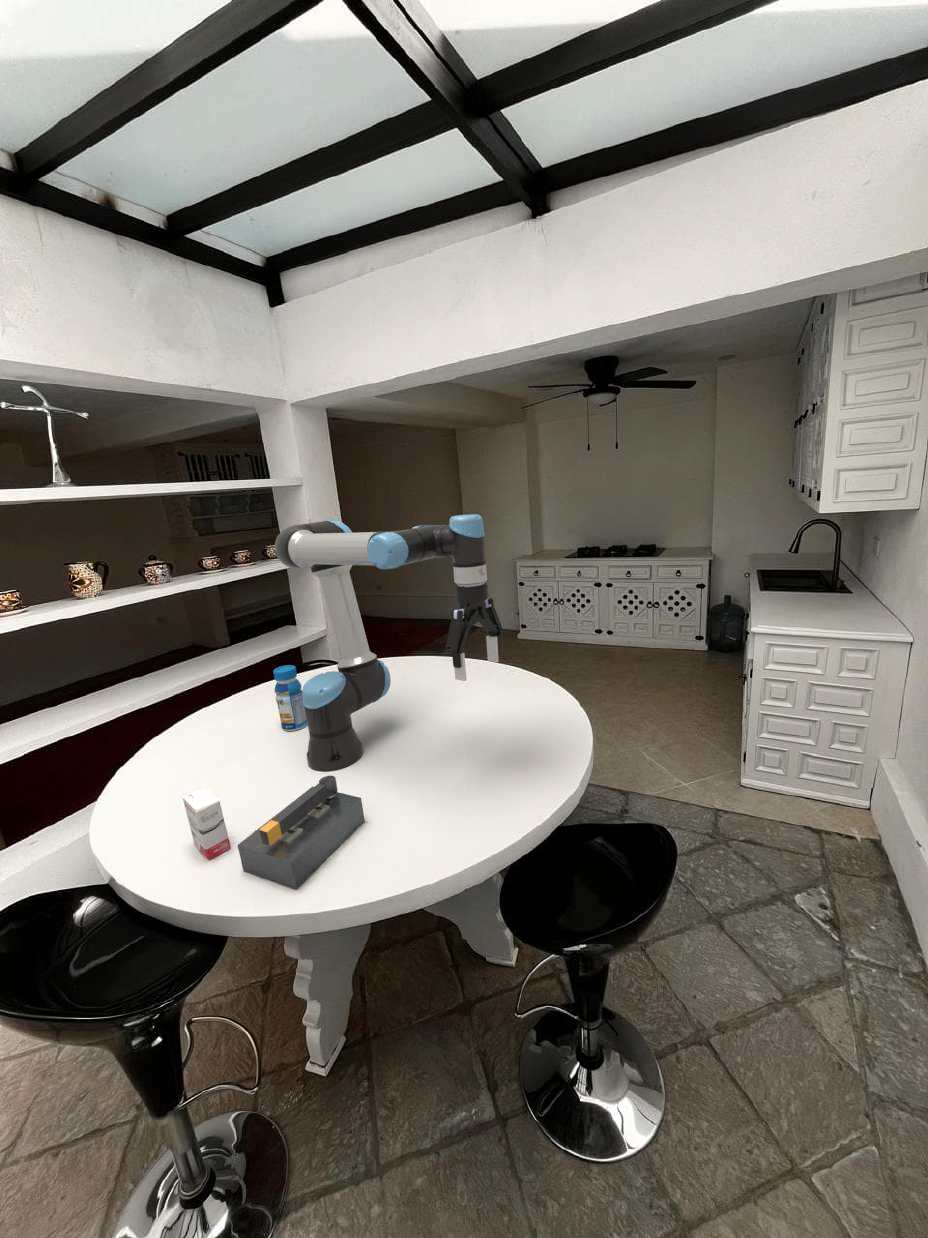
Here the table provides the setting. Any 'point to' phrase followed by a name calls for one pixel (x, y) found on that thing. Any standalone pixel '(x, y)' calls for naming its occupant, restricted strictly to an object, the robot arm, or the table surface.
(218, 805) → the ink box
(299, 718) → the beverage bottle
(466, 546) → the robot arm
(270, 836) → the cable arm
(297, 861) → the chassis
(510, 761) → the table surface
